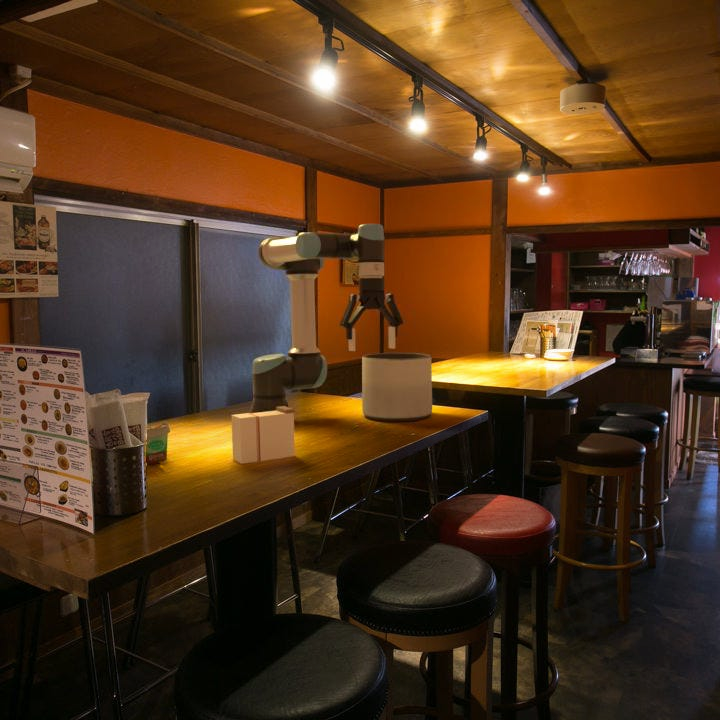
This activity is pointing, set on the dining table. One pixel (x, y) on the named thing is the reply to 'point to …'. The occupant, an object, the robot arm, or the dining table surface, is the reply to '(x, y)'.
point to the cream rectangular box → (276, 433)
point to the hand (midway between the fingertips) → (372, 349)
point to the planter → (396, 386)
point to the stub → (245, 438)
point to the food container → (157, 444)
